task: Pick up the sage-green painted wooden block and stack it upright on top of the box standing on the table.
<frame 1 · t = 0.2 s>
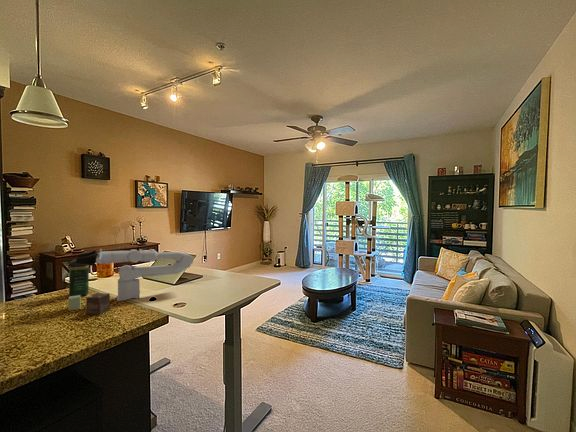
hand: (77, 258, 124), 21 cm above the countertop, tool horizontal, fingers open, 7 cm apart
coffee jar: (79, 295, 139), on the countertop
box: (98, 312, 116), on the countertop
sage block: (74, 308, 120), on the countertop
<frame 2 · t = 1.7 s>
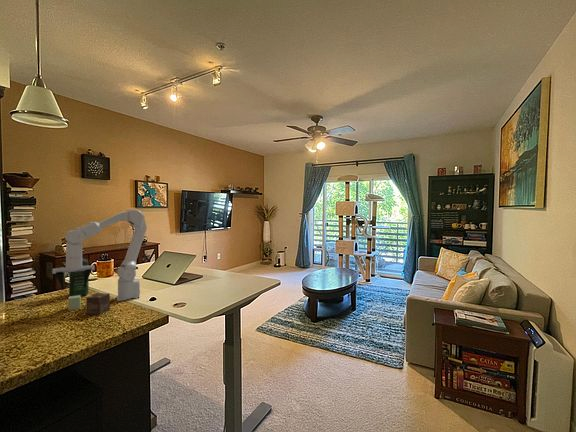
hand: (74, 287, 120), 9 cm above the countertop, tool pointing down, fingers open, 7 cm apart
nothing on the countertop moved.
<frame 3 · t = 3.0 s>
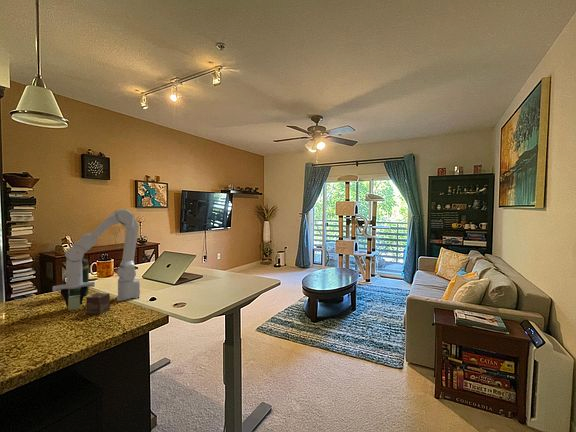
hand: (74, 304, 120), 1 cm above the countertop, tool pointing down, fingers closed on sage block, 4 cm apart
sage block: (74, 308, 120), on the countertop, touching gripper
everything else where it was.
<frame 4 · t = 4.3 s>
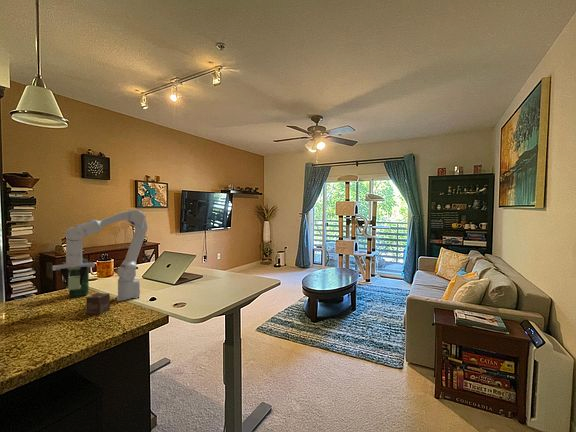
hand: (74, 284, 120), 10 cm above the countertop, tool pointing down, fingers closed on sage block, 4 cm apart
sage block: (74, 288, 120), point 9 cm above the countertop, touching gripper
everything else where it was.
when the fingers open (9 cm above the countertop, at t = 6.0 s): sage block stays where it is, resting on box.
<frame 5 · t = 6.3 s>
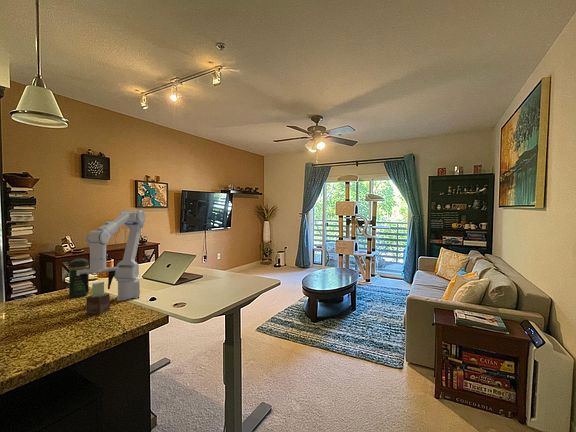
hand: (98, 290, 116), 9 cm above the countertop, tool pointing down, fingers open, 7 cm apart
box: (98, 312, 116), on the countertop, touching sage block
sage block: (98, 295, 116), point 7 cm above the countertop, touching box
everything else where it was.
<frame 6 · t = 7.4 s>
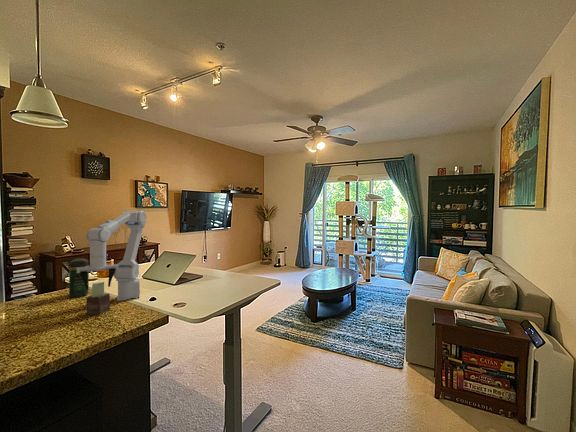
hand: (98, 287, 116), 10 cm above the countertop, tool pointing down, fingers open, 7 cm apart
nothing on the countertop moved.
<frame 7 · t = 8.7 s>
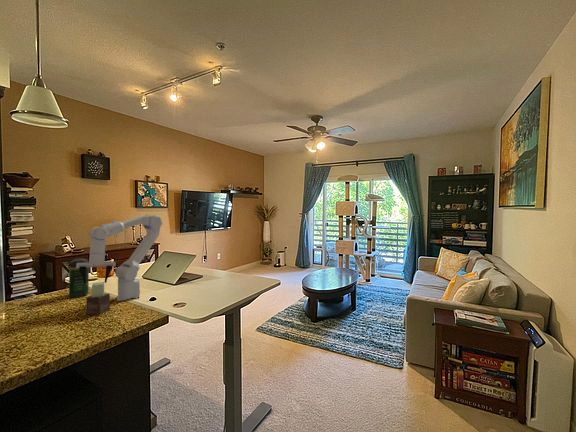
hand: (95, 282, 123), 10 cm above the countertop, tool pointing down, fingers open, 7 cm apart
nothing on the countertop moved.
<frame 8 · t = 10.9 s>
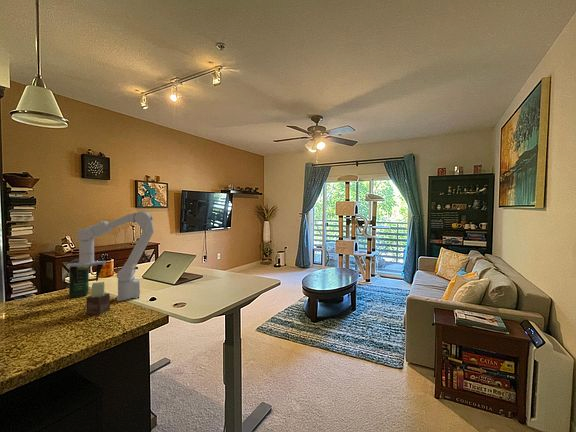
hand: (86, 281, 129), 9 cm above the countertop, tool pointing down, fingers open, 7 cm apart
nothing on the countertop moved.
at the end: sage block 0.0 cm off-centre on the box, point 7.5 cm above the box's base; sage block tilted 0°; the gripper is holding nothing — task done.
